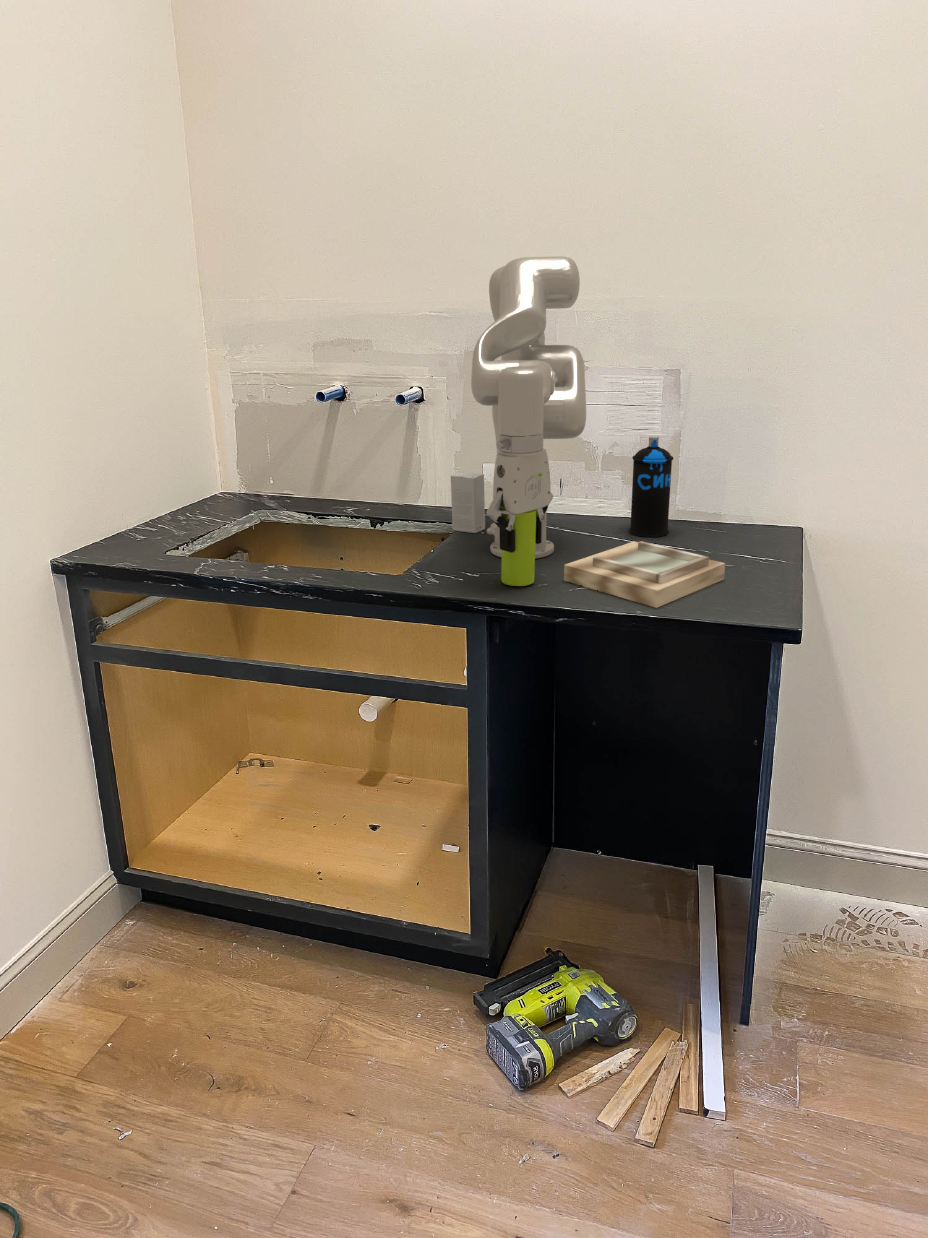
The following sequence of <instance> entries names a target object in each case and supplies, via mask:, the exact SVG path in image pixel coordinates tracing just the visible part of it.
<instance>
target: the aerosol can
mask: <svg viewBox="0 0 928 1238" xmlns="http://www.w3.org/2000/svg"><path fill="white" fill-rule="evenodd" d="M659 437H660V436H658V435H650V436H648V446H646V447H644V448H641V449H640V450H638V451H637V452H636V453H635V454H634V455H632V460H633V462H632V463H633V464H632V465H633V466H632V467H633V468H632V483H631V485H632V489H631V507H630V508H631V509H630V510H631V511H630V528H629V530H628V531H629V533H630V534H631V535H632V536H636V537H641V538H659V537H660V538H661V537H665V536H667V535H668V534H669V533H670V531H669V513H670V499H671V498H670V497H671V481H672V467H673V466H672V464H673V461H674V457H673V456H672V455H671V453H670V452H669V451H668V450H666V449H665V448H661V447H660V446H659V441H660V438H659ZM664 535H665V536H664Z"/></svg>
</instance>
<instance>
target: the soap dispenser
mask: <svg viewBox="0 0 928 1238" xmlns="http://www.w3.org/2000/svg"><path fill="white" fill-rule="evenodd" d="M542 475H543V473H539V474H538V476H542ZM508 516H509V515H508V514H506V517H505V520H506V521H507V520H508ZM512 529H513V530H515V552H512V553H511V552H507V551H504V550H502V557H501V564H500V566H501V573H500V576H501V578H500V580H501V581H500V582H502V583H503V584H504V585H508V586H513V587H525V586H530V585H532V584H534V582H535V571H536V570H535V568H536V566H535V565H536V559H535V541H536V510H533V511H530V512H526V513H523V514H519V515H516V516H515V520H514V524H513V528H512Z"/></svg>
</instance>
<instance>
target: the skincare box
mask: <svg viewBox="0 0 928 1238" xmlns="http://www.w3.org/2000/svg"><path fill="white" fill-rule="evenodd" d="M450 490H451V491H450V493H451V495H450V496H451V522H452V523H451V525H452V526H451V527H452V529H451V530H452V531H457V532H463V533H464V532H465V533H470V534H471V533H472V534H477V533H479V532H481V531H483V530H485V529H486V512H485V511H486V508H485V507H486V506H485V503H486V502H485V475H484V474H483V473H482V474H481V473H473V472H462V471H460V472H457V473H455V474H452V475H450Z"/></svg>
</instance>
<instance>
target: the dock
mask: <svg viewBox="0 0 928 1238" xmlns="http://www.w3.org/2000/svg"><path fill="white" fill-rule="evenodd" d="M563 567H564V568H563V569H564V570H563V581H564V582H566V583H567V582H568V583H570V582H571V583H570V584H572V585H577V586H580V585H582V586H581V587H585V588H587V589H591V590H594V591H597V590H598V591H597V592H600V593H601V592H602V593H604V594H608V595H611V596H615V597H619V598H620V599H625V600H628V601H631V602H634V603H639V604H642V605H645V606H648V607H652V608H656V609H657V608H659V607H661V606H664V605H666V604H669V603H671V602H673V601H674V602H675V601H677V600H678V599H681V598H682V597H685V596H688V595H691V594H692V593H693V594H694V593H695V592H697V591H700V590H702V589H704V588H706V587H709V586H712V585H714V584H716V583H718V582H721V581H723V580H725V572H726V571H725V570H726V563H725V562H721V561H717V560H714V559H710V557H709V556H705V555H702V554H698V553H693V552H689V551H685V550H681V549H676V548H672V547H668V546H663V545H659V544H654V543H651V542H646V541H642V540H641V541H638V542H637V541H630V542H628V543H625V544H623V545H618V546H616V547H613V548H609V549H607V550H605V551H601V552H599V553H595V554H592V555H589V556H587V557H583V558H580V559H576V560H574V561H571V562H569V563H566V564H564V565H563Z"/></svg>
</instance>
